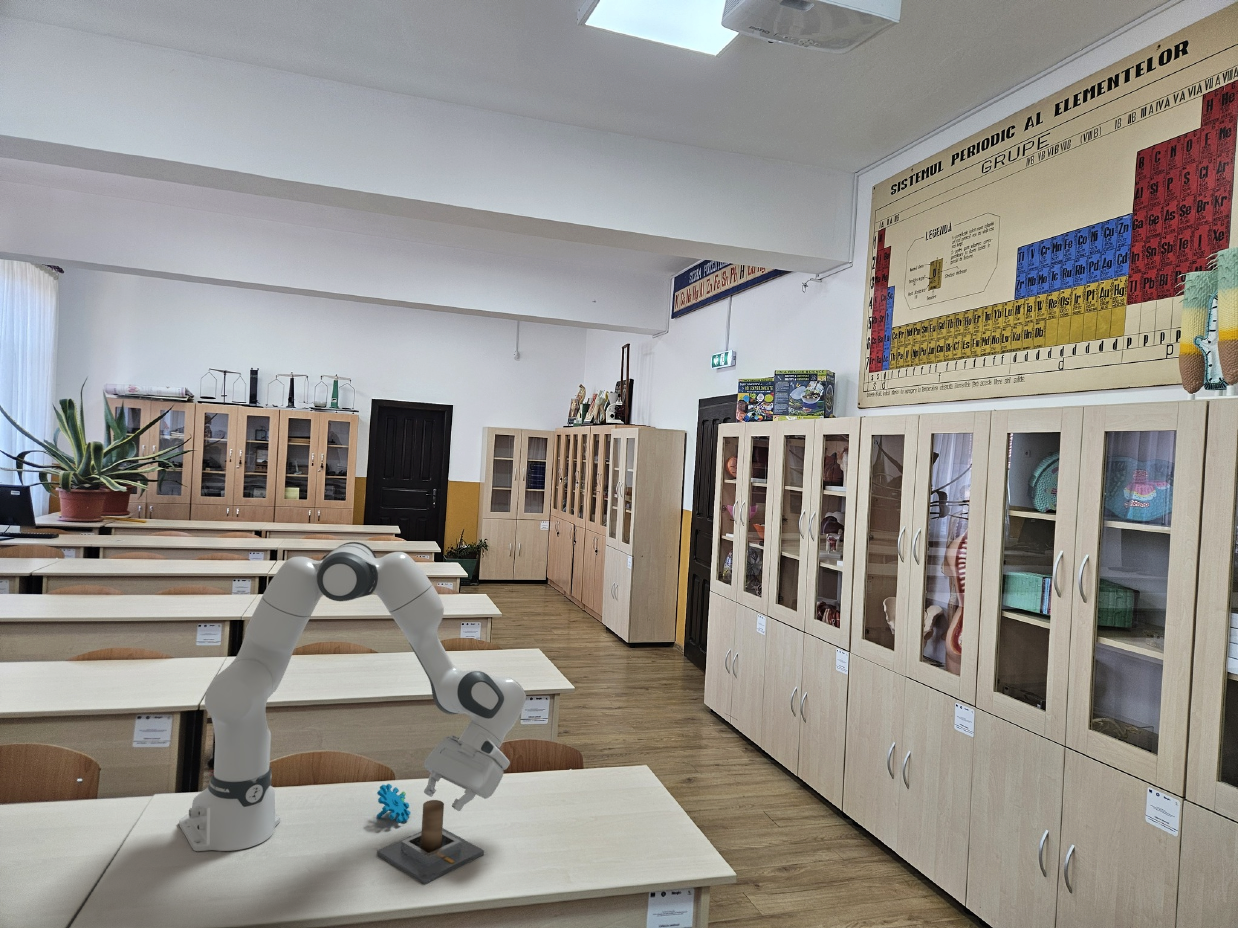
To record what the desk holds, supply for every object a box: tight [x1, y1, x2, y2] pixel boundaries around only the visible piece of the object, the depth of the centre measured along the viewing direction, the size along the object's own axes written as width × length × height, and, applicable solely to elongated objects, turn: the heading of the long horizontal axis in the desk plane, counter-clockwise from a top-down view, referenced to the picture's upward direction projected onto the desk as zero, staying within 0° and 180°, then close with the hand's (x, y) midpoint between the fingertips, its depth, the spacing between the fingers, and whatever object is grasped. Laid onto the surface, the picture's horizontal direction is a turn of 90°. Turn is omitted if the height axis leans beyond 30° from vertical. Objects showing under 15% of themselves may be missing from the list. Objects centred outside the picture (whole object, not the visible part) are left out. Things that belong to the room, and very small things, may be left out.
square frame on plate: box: [376, 827, 485, 885], centre depth 168 cm, size 16×16×3 cm
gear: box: [376, 783, 412, 824], centre depth 184 cm, size 11×6×10 cm
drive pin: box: [420, 799, 445, 853], centre depth 168 cm, size 4×4×10 cm
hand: (441, 801), depth 170 cm, fingers open, 8 cm apart
